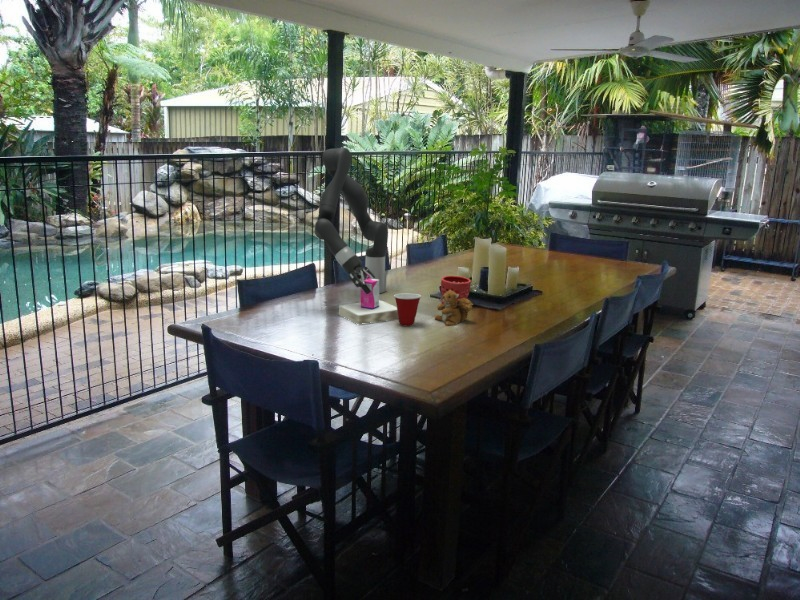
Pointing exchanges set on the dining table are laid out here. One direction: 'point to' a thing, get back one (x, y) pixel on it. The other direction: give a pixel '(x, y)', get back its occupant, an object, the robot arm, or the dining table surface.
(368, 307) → the supplement box
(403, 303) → the plastic cup
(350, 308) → the slab
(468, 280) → the plant pot
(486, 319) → the dining table surface
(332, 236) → the robot arm
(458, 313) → the stuffed squirrel
